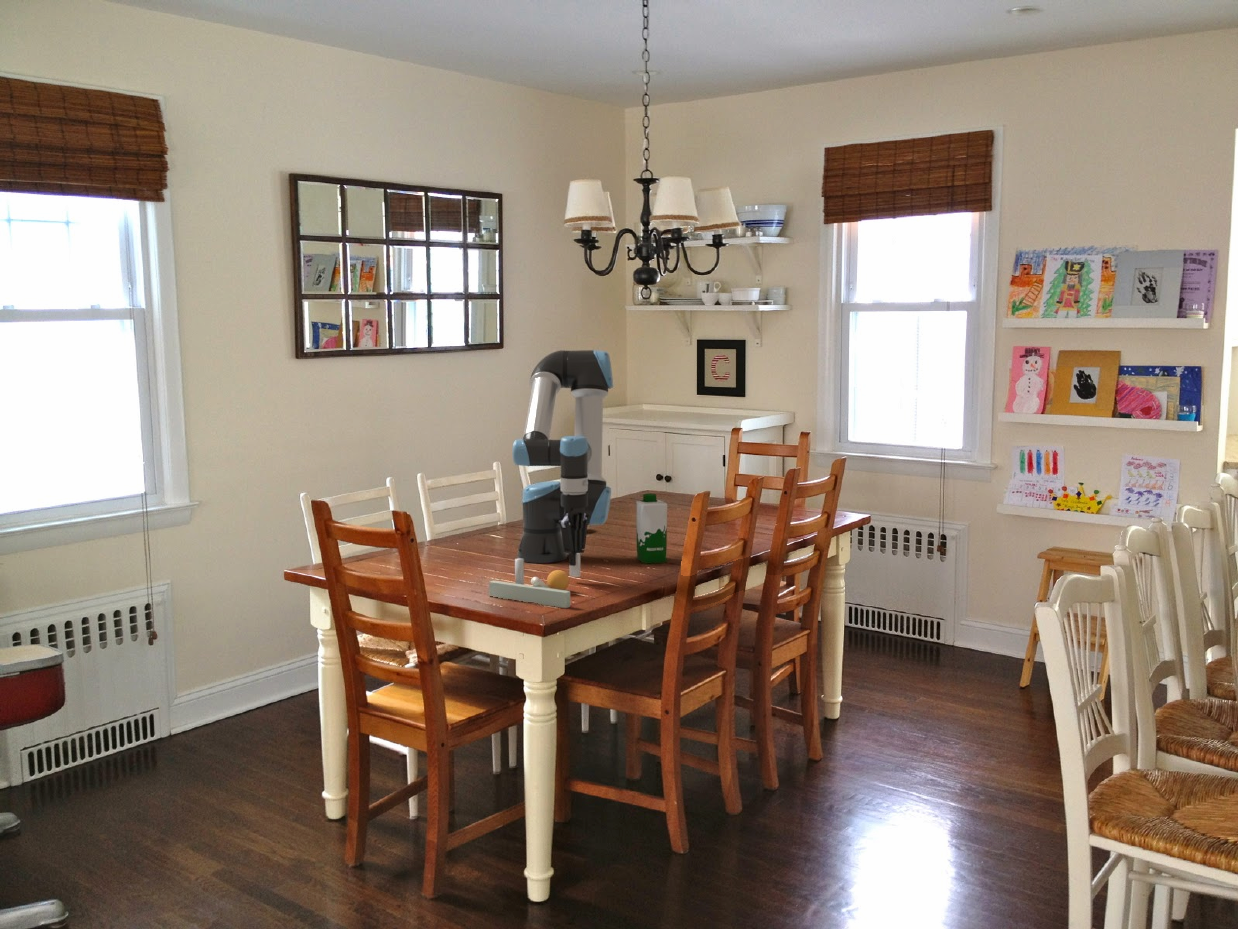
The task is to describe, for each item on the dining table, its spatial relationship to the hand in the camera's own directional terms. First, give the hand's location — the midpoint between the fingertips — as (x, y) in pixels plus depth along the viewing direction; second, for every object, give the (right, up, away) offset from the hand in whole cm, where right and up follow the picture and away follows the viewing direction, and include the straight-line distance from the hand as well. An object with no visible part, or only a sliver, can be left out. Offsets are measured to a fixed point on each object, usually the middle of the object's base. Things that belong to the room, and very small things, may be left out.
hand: (574, 576), depth 306 cm
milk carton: (+22, +2, +28) cm, 36 cm away
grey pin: (-15, -3, -8) cm, 17 cm away
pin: (-7, -3, -13) cm, 15 cm away
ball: (-4, 0, -10) cm, 11 cm away
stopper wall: (-11, -5, -20) cm, 23 cm away
